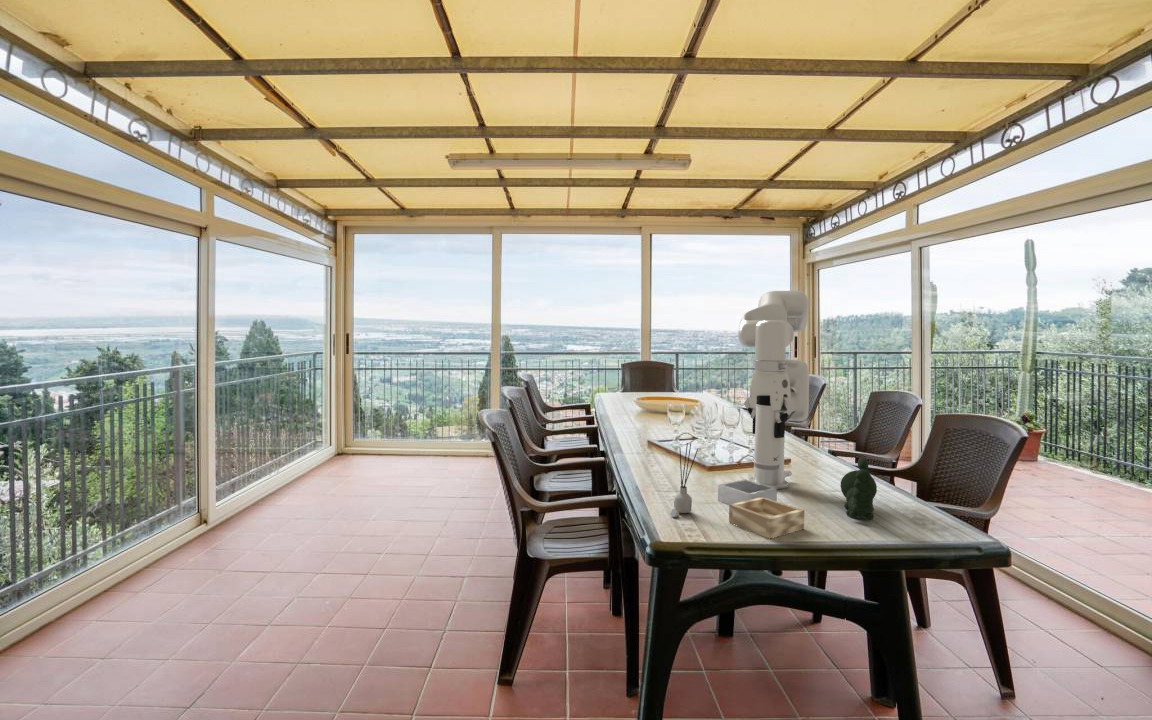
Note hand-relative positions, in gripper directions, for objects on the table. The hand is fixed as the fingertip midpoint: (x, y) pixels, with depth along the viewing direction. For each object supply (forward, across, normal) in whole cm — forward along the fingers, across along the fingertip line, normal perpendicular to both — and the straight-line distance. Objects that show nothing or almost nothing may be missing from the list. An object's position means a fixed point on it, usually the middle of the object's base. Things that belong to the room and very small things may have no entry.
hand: (768, 434), depth 144 cm
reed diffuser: (+25, +18, +12) cm, 33 cm away
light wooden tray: (+25, 0, 0) cm, 25 cm away
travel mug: (+9, 0, 0) cm, 9 cm away
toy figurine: (+25, -7, -32) cm, 40 cm away
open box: (+24, +16, -12) cm, 32 cm away
